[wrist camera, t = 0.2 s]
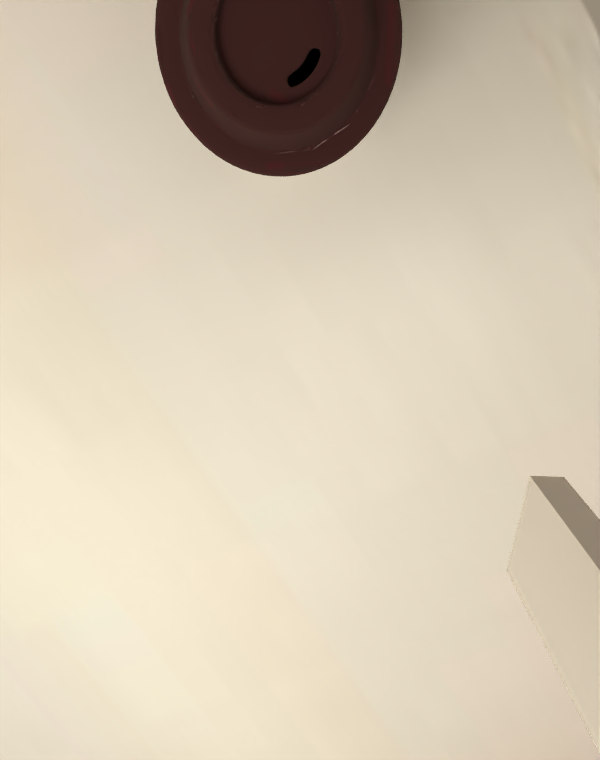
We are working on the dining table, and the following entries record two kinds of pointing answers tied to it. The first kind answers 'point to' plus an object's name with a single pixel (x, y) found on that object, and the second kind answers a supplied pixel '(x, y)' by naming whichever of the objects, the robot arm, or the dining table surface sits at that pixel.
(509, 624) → the dining table surface
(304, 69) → the coffee cup
